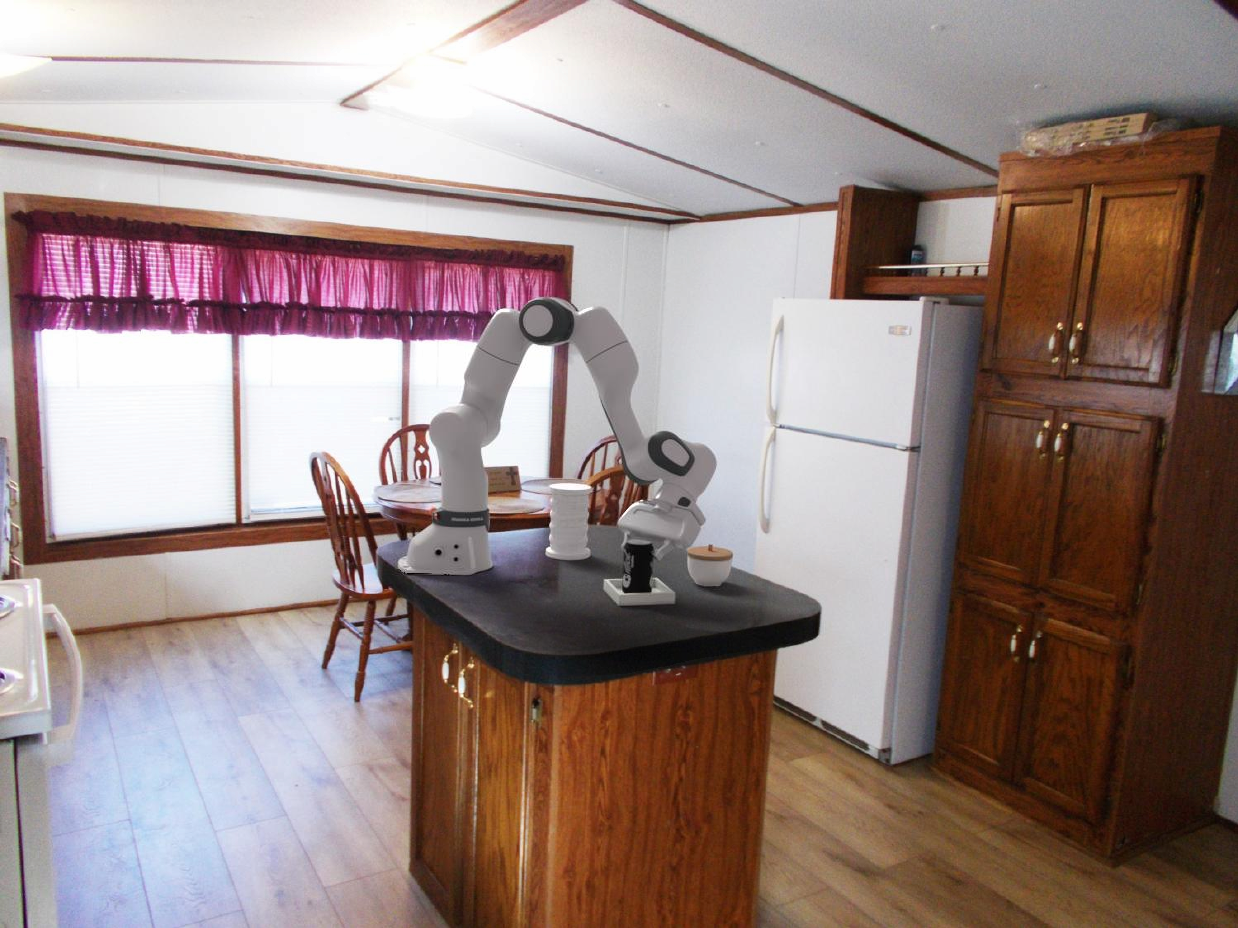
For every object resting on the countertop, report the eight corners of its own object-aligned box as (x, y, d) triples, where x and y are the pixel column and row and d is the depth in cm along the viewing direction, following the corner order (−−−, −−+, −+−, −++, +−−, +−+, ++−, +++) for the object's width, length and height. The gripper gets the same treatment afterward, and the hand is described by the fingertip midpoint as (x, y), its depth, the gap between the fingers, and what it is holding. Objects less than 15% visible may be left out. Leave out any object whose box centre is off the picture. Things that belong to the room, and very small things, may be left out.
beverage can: (648, 599, 197) (651, 544, 195) (618, 596, 198) (621, 542, 197) (654, 591, 203) (656, 539, 202) (625, 588, 204) (627, 536, 203)
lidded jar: (682, 577, 220) (684, 538, 218) (725, 577, 221) (728, 539, 220) (689, 589, 209) (692, 549, 208) (735, 589, 210) (738, 550, 209)
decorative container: (542, 549, 241) (544, 482, 239) (585, 549, 244) (588, 483, 242) (549, 560, 230) (551, 490, 228) (594, 559, 233) (597, 490, 231)
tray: (618, 605, 193) (619, 594, 193) (603, 589, 205) (603, 579, 205) (674, 603, 197) (675, 592, 196) (656, 587, 209) (657, 577, 208)
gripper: (631, 490, 210) (599, 536, 205) (700, 503, 196) (668, 554, 191) (643, 507, 214) (612, 553, 209) (712, 521, 200) (680, 571, 194)
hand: (639, 553), depth 199 cm, fingers open, 8 cm apart
